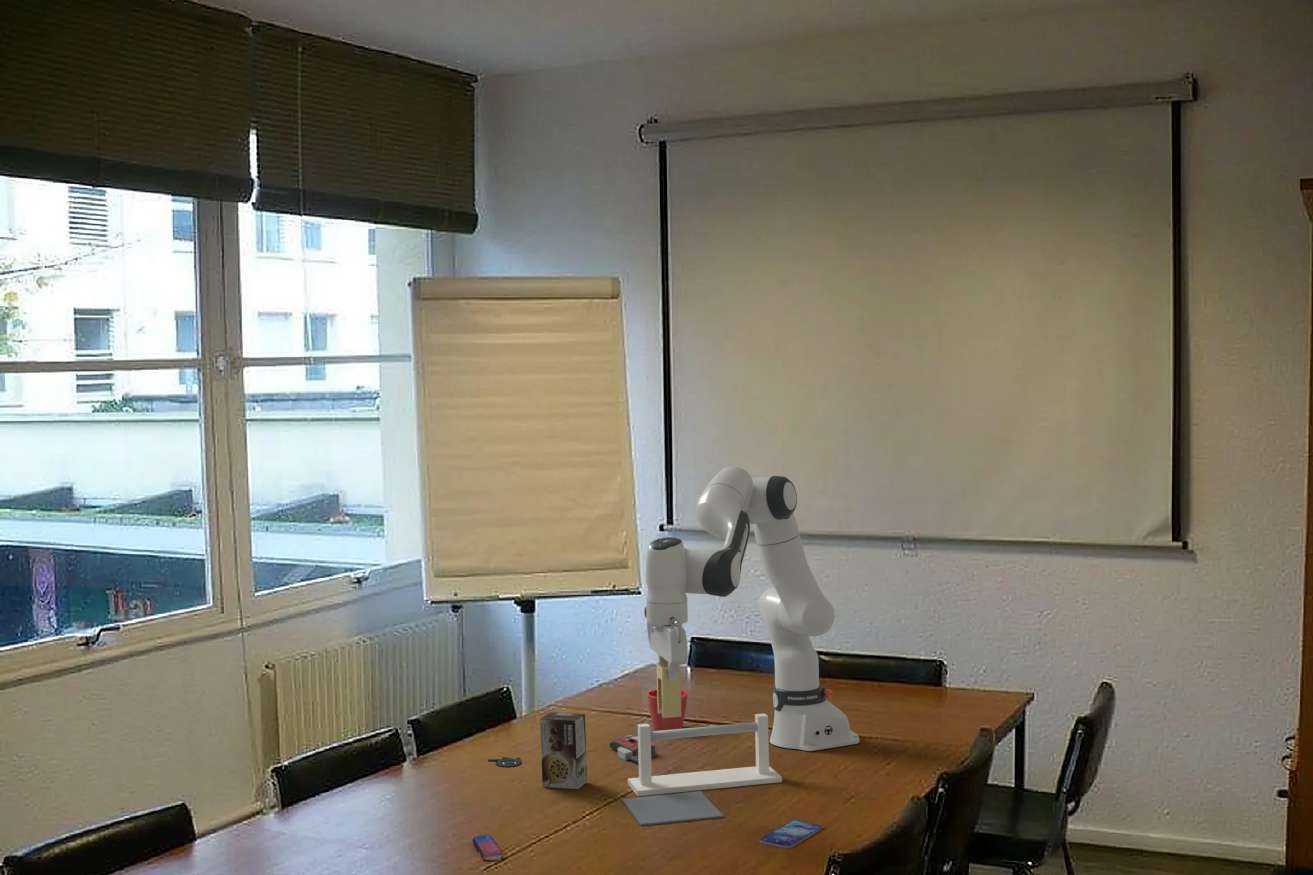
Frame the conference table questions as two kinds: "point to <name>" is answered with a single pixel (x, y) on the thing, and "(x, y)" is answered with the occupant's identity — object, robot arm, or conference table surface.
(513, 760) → the dark grey flat piece
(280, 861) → the conference table surface
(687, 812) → the rubber mat
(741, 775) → the rod stand
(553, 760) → the coffee box
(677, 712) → the c-link
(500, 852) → the eraser
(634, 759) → the walkie-talkie
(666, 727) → the flower pot
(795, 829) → the smartphone
